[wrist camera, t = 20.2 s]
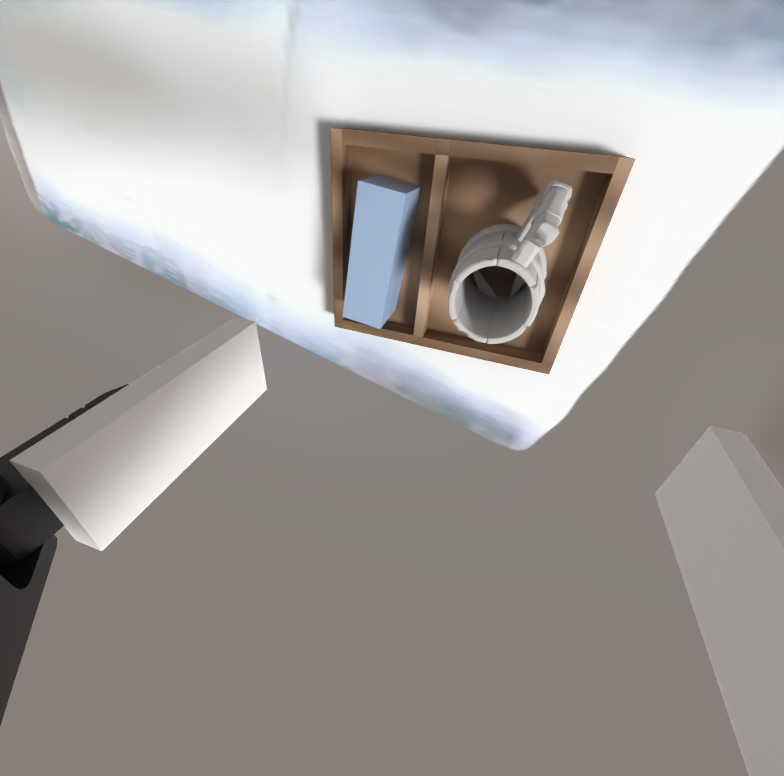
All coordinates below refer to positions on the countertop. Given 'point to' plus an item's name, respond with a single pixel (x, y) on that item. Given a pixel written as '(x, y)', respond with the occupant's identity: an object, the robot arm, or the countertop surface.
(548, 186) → the mug
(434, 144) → the tray
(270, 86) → the countertop surface
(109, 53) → the countertop surface
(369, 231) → the long blue-grey cuboid
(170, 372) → the robot arm
